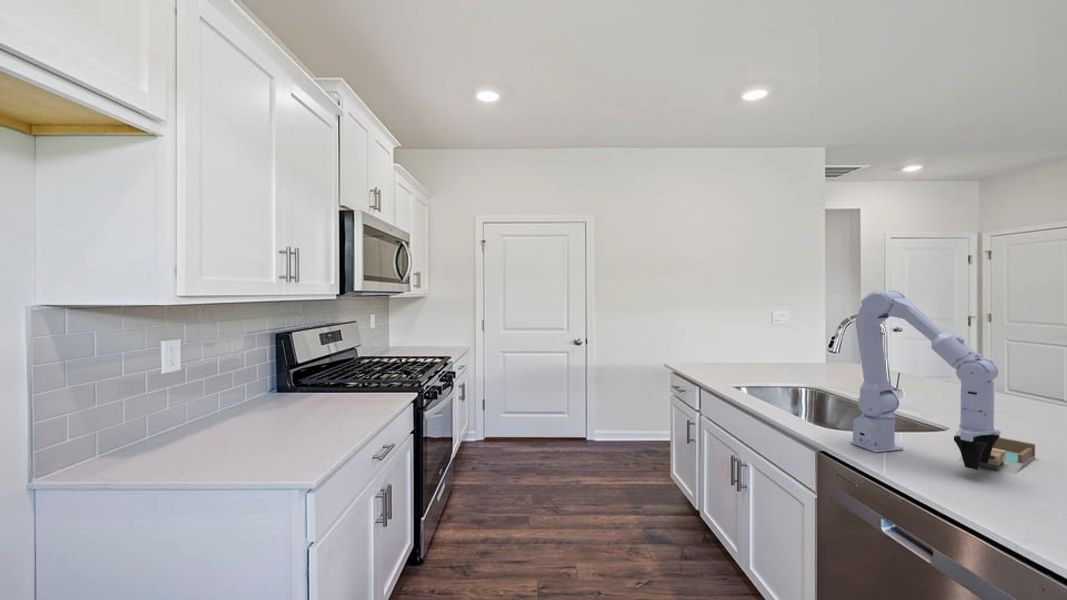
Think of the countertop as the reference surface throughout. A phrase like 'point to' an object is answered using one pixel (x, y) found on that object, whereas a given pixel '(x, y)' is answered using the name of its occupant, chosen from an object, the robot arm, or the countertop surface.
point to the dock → (1017, 448)
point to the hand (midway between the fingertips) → (976, 465)
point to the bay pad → (1011, 457)
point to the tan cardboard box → (995, 458)
